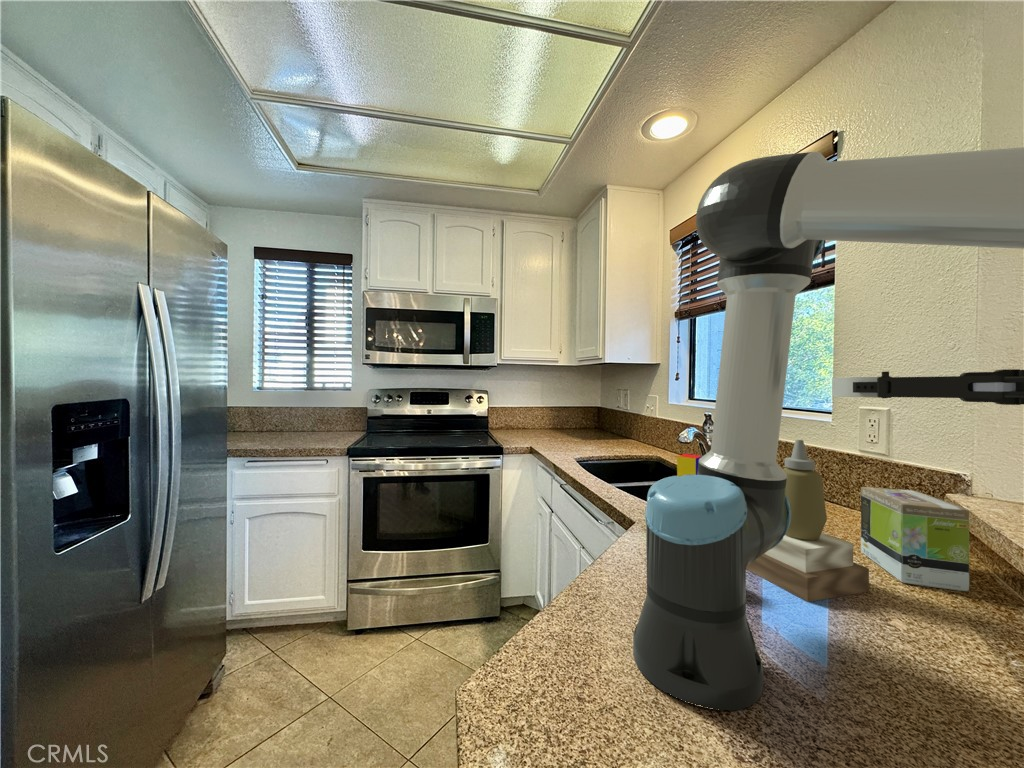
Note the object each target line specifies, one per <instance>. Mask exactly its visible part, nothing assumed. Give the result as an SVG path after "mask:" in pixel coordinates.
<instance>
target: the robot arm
mask: <svg viewBox="0 0 1024 768" xmlns="http://www.w3.org/2000/svg"><path fill="white" fill-rule="evenodd" d="M695 227H696V232H697V235H698V238H699V240H700V242H701V243H702V245H703V246H704V247H705V248H706V249H707V250H708V251H709V252H710V253H712V254H714V255H716V257H718V258H719V262H718V270H717V283H716V285H717V288H719V289H720V291H721V292H723V294H725V296H726V302H725V304H726V305H725V310H724V311H725V312H724V313H725V314H724V321H723V322H724V323H723V330H722V331H723V332H722V339H721V351H720V360H719V368H718V369H719V371H718V379H717V389H716V398H715V407H714V417H713V424H712V425H713V426H712V436H711V443H710V444H711V447H710V450H709V451H708V452H707V453H705V454H704V455H702V456H703V457H701V458H700V459H699V463H698V472H697V475H683V476H677V475H672V476H668V477H664V478H662V479H660V480H657V481H655V482H654V483H653V484H652V485H651V486H650V488H649V489H648V492H647V496H646V506H645V510H644V511H645V513H644V518H645V524H646V525H645V526H646V527H645V531H646V532H645V534H646V537H645V538H646V539H645V540H646V543H645V544H646V545H645V546H646V595H645V596H646V597H645V600H644V603H643V605H642V607H641V612H640V615H639V619H638V621H637V623H636V626H635V628H634V631H633V634H632V636H633V639H632V640H633V641H632V643H633V645H632V646H633V647H632V649H633V650H632V651H633V652H632V653H633V654H632V655H633V659H634V662H635V664H636V666H637V668H638V669H639V671H640V672H641V674H642V675H643V676H644V677H645V678H646V679H647V680H648V681H649V682H650V683H651V684H653V685H654V686H655V687H656V688H657V689H659V690H660V691H662V690H663V691H662V692H664V693H665V692H666V693H665V694H667V693H669V694H671V695H672V696H674V697H677V698H679V699H682V700H683V701H686V702H690V703H693V704H696V705H701V706H703V707H708V708H713V709H717V710H716V711H721V710H730V711H738V710H742V709H747V708H748V707H750V706H753V705H754V704H756V703H757V702H758V701H759V700H760V698H761V696H762V694H763V691H764V668H763V663H762V660H761V657H760V654H759V652H758V649H757V646H756V642H755V639H754V635H753V633H752V629H751V627H750V624H749V621H748V619H747V610H746V609H747V607H746V605H747V603H746V601H747V600H746V599H747V597H746V594H747V592H746V591H747V588H746V587H747V585H746V584H747V583H746V582H747V581H746V580H747V575H746V574H747V571H746V570H747V569H746V567H747V566H748V565H749V564H750V563H752V562H753V561H754V560H756V559H757V558H758V557H760V556H761V555H763V554H764V553H766V552H767V551H768V550H770V549H772V548H774V547H775V546H776V545H777V544H779V543H780V542H781V540H782V539H783V537H784V536H785V535H786V533H787V531H788V528H789V525H790V521H791V508H790V504H789V501H788V498H787V496H786V495H785V491H786V482H787V473H786V472H785V471H784V470H783V469H784V468H782V466H781V465H780V464H779V463H778V461H777V456H778V449H779V439H780V431H781V422H782V414H783V413H782V412H783V405H784V397H785V388H786V380H787V379H786V378H787V373H788V372H787V371H788V364H789V363H788V362H789V355H790V345H791V337H792V331H793V322H794V321H793V320H794V314H795V313H794V311H795V304H796V303H795V302H796V296H797V295H798V294H799V292H801V291H802V290H804V289H805V288H806V287H808V286H809V285H810V284H811V279H812V273H813V272H812V271H813V265H814V261H815V260H816V259H817V257H818V256H819V255H820V253H821V251H822V248H823V246H824V243H825V241H837V242H857V243H859V242H860V243H861V242H862V243H881V244H883V243H886V244H903V245H904V244H909V245H928V246H929V245H931V246H932V245H933V246H934V245H935V246H953V247H954V246H956V247H974V248H975V247H979V248H1000V249H1023V250H1024V147H1013V148H1012V147H1011V148H1009V147H1008V148H997V149H984V150H983V149H982V150H971V151H959V152H958V151H957V152H956V151H955V152H944V153H942V152H941V153H940V152H939V153H928V154H917V155H916V154H915V155H903V156H902V155H901V156H887V157H886V156H885V157H875V158H874V157H873V158H860V159H847V160H833V161H829V160H827V159H826V157H825V156H824V155H823V154H822V152H819V151H811V152H810V151H808V152H798V153H797V152H796V153H787V154H786V153H785V154H779V155H769V156H763V157H758V158H752V159H751V160H747V161H743V162H740V163H737V164H736V165H734V166H732V167H730V168H729V169H727V170H725V171H723V172H721V174H719V175H718V177H716V178H715V179H714V180H712V182H711V184H710V185H709V186H708V187H707V189H705V192H704V193H703V195H702V197H701V198H700V201H699V203H698V206H697V210H696V213H695ZM831 381H832V382H831V384H832V385H831V386H832V387H831V388H832V389H831V392H832V393H831V395H832V396H831V397H832V398H835V397H836V398H872V399H873V398H879V399H880V398H881V399H892V398H924V399H925V398H929V399H932V398H933V399H934V398H935V399H936V398H937V399H939V398H940V399H959V400H961V401H962V402H966V403H994V404H996V405H1001V406H1002V405H1003V406H1021V405H1024V369H1020V368H1017V369H1016V368H1014V369H1010V368H1009V369H1008V368H1007V369H1006V368H1005V369H996V370H994V371H977V372H976V371H971V372H969V371H968V372H962V373H961V374H960V375H955V376H953V375H952V376H950V375H949V376H945V375H944V376H893V377H892V376H890V371H881V375H880V376H857V377H856V376H854V377H852V376H851V377H832V379H831ZM669 694H668V695H669ZM672 696H671V697H672ZM674 697H673V698H674ZM683 701H682V702H683ZM686 702H685V703H686ZM718 709H719V710H718Z"/></svg>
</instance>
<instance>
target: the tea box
mask: <svg viewBox="0 0 1024 768" xmlns="http://www.w3.org/2000/svg"><path fill="white" fill-rule="evenodd" d="M860 490H861V491H860V551H861V553H862V554H864V555H865V556H866V557H868V558H869V559H870V560H871V561H873V562H874V563H875V564H877V565H878V566H879V567H881V568H882V569H883V570H885V571H887V572H888V573H889V574H890V575H891V576H893V577H894V578H896V579H897V580H898V581H900V582H901V583H904V584H910V585H916V586H922V587H930V588H939V589H944V590H945V589H946V590H951V591H960V592H969V591H970V510H969V509H968V508H966V507H964V506H960V505H957V504H954V503H951V502H948V501H946V500H943V499H941V498H937V497H934V496H931V495H929V494H926V493H923V492H920V491H918V490H911V489H897V488H886V487H885V488H884V487H872V486H870V487H869V486H861V487H860Z"/></svg>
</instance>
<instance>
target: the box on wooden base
mask: <svg viewBox="0 0 1024 768" xmlns="http://www.w3.org/2000/svg"><path fill="white" fill-rule="evenodd" d="M746 570H747V571H749V572H751V573H753V574H754V575H757V576H758V577H760V578H762V579H763V580H765V581H768V582H769V583H771V584H774V585H776V586H777V587H779V588H781V589H783V590H784V591H786V592H788V593H790V594H791V595H792V594H793V595H794V596H796V597H798V598H800V599H802V600H803V601H805V602H807V603H809V602H814V601H820V600H821V601H822V600H826V599H831V598H838V597H844V596H850V595H855V594H862V593H867V592H870V569H869V567H865V566H863V565H862V564H858V563H856V562H854V543H853V542H850V541H848V540H845V539H842V538H838V537H836V536H833V535H830V534H827V533H824V532H822V533H821V535H820V538H819V539H817V540H805V539H799V538H794V537H791V536H788V535H785V536H784V537H783V539H782V540H781V542H780V543H779V544H777V545H776V546H775V547H774V548H772V549H770V550H768V551H767V552H766V553H764V554H763V555H761V556H760V557H758V558H757V559H756V560H754V561H753V562H752V563H750V564H749V565H748V566H747V567H746Z"/></svg>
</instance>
